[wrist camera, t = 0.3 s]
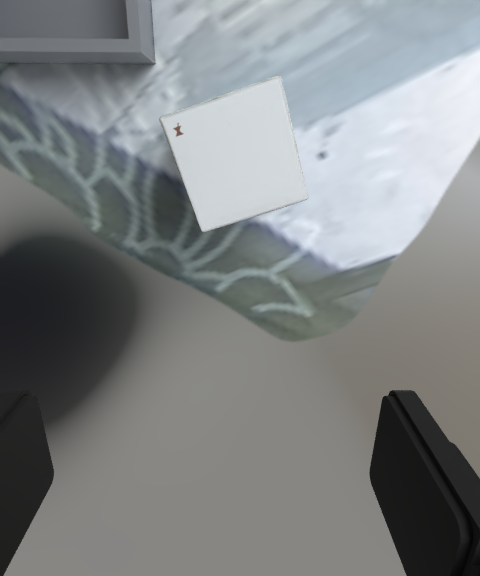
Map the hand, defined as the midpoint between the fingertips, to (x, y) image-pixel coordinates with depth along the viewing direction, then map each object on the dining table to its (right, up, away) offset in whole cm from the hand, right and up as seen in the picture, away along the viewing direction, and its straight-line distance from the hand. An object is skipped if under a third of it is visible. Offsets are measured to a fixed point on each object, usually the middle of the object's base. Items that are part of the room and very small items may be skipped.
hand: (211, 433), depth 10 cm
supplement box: (0, +16, +24) cm, 29 cm away
